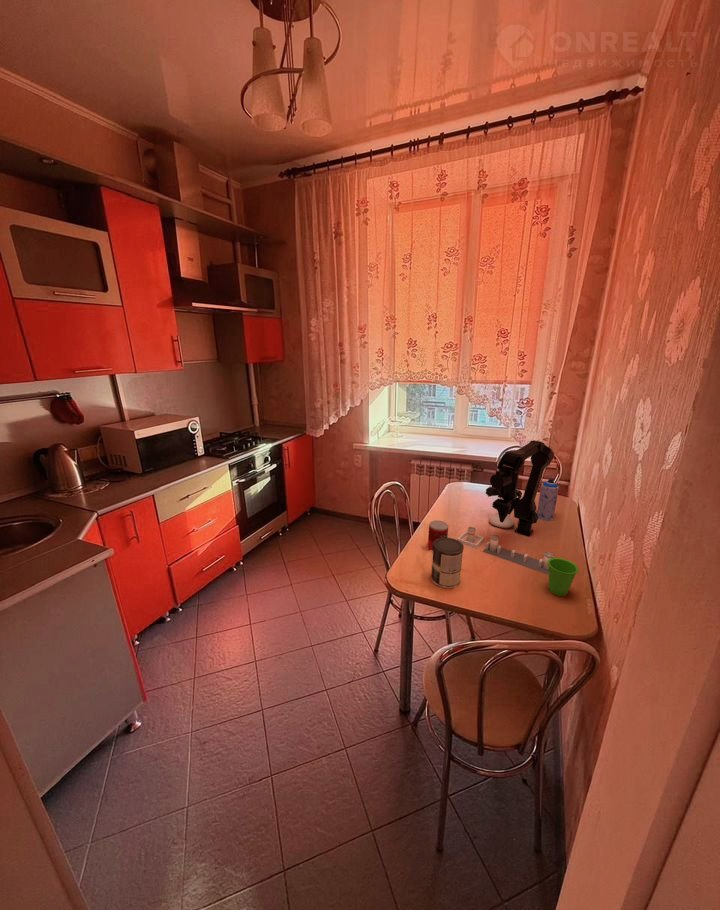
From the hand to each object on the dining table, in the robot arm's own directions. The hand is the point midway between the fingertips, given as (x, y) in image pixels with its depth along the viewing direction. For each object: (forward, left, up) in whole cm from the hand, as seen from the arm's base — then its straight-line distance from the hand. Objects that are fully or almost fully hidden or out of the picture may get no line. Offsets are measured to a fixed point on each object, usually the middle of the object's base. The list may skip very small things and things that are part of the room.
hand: (505, 518), depth 148 cm
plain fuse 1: (+8, -1, -12) cm, 14 cm away
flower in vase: (-19, -7, -13) cm, 24 cm away
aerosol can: (-40, +8, -13) cm, 43 cm away
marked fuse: (+7, -11, -12) cm, 17 cm away
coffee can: (+37, -8, -13) cm, 40 cm away
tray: (+7, -11, -12) cm, 18 cm away
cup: (+20, +25, -13) cm, 34 cm away
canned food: (+20, -20, -13) cm, 31 cm away
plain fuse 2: (+8, +19, -12) cm, 24 cm away
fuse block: (+8, +9, -12) cm, 17 cm away
